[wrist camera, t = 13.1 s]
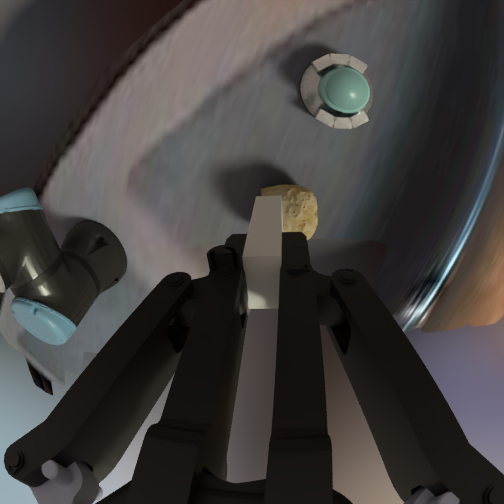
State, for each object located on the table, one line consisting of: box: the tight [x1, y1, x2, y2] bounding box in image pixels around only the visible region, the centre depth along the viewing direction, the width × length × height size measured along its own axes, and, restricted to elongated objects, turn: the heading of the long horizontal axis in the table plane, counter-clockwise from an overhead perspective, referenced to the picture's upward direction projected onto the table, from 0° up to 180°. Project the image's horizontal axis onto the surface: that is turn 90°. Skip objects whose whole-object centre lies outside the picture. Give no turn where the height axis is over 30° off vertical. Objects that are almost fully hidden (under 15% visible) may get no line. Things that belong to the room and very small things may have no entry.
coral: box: [261, 184, 318, 240], centre depth 40 cm, size 10×10×10 cm
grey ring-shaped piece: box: [300, 53, 373, 129], centre depth 32 cm, size 10×10×4 cm
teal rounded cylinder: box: [318, 68, 370, 113], centre depth 31 cm, size 6×6×6 cm
